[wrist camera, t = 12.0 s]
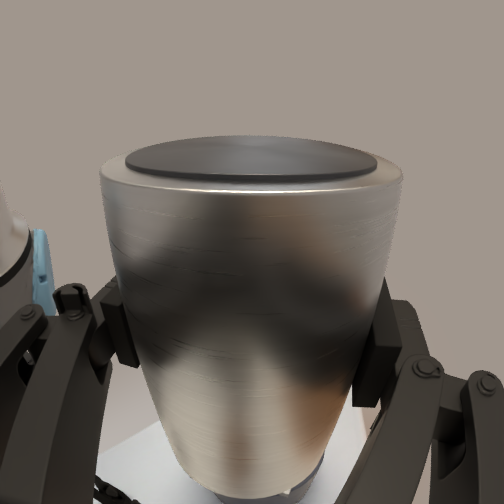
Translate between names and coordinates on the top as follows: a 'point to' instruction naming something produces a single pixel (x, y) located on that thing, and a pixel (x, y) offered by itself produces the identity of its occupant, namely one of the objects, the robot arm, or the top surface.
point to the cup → (249, 294)
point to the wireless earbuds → (110, 494)
